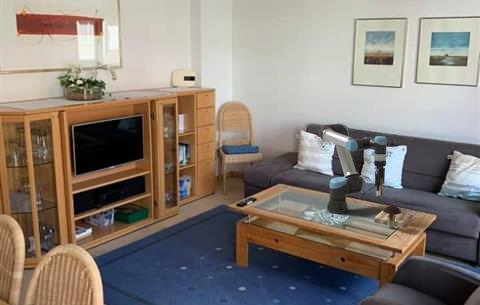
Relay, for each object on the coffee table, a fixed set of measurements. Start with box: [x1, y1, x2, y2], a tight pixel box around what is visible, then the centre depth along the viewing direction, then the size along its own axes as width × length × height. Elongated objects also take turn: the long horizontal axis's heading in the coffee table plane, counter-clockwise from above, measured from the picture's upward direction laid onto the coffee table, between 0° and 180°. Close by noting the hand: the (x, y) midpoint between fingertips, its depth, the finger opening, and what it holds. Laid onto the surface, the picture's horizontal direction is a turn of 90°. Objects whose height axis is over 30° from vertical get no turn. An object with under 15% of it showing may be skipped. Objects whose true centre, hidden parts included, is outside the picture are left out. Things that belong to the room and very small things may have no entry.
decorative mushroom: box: [382, 204, 402, 229], centre depth 315 cm, size 11×11×15 cm
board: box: [373, 210, 410, 228], centre depth 330 cm, size 18×18×3 cm
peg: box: [376, 177, 384, 200], centre depth 328 cm, size 4×4×14 cm
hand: (379, 194), depth 329 cm, fingers closed on peg, 4 cm apart
